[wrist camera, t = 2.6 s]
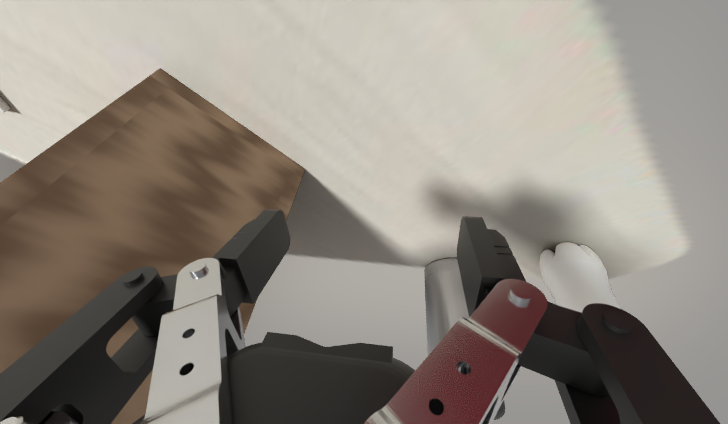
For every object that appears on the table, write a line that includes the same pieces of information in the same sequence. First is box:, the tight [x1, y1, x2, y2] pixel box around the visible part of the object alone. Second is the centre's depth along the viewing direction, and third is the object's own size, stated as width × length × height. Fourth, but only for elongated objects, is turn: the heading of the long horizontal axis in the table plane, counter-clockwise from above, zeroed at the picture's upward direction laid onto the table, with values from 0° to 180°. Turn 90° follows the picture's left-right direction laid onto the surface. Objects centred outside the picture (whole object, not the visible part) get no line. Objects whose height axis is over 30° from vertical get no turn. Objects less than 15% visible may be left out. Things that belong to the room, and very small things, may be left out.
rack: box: [0, 69, 305, 424], centre depth 23 cm, size 16×18×32 cm
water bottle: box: [539, 242, 621, 313], centre depth 31 cm, size 7×7×25 cm
